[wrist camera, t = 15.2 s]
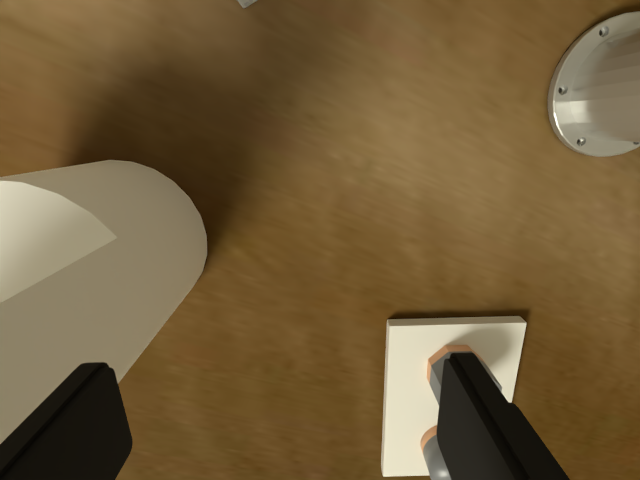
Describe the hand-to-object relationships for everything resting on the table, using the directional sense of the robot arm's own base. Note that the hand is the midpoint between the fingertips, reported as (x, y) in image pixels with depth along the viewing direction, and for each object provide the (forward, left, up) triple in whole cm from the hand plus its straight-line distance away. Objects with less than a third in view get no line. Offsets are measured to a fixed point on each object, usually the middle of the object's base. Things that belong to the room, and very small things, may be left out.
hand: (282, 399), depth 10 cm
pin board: (-17, +27, -28) cm, 43 cm away
